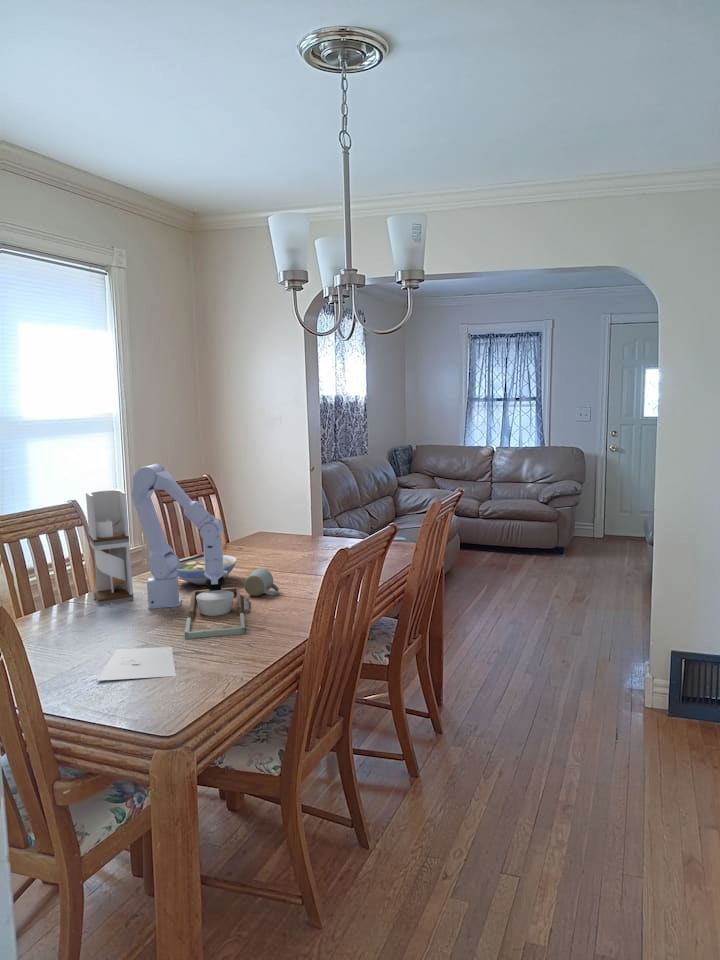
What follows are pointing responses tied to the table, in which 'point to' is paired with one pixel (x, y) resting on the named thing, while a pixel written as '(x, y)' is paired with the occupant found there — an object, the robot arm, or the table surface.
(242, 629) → the sage bay
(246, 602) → the grey metal bar
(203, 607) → the ramekin
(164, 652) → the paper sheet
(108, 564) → the white toy tower
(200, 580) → the ramen bowl
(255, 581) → the ceramic mug
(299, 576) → the table surface
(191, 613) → the brown wooden flat frame
